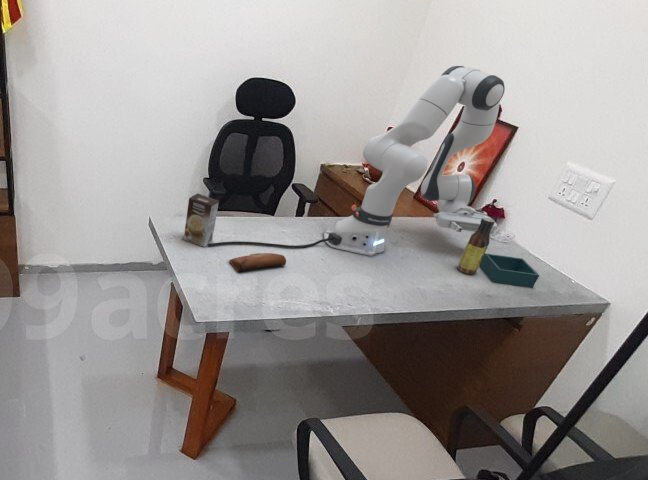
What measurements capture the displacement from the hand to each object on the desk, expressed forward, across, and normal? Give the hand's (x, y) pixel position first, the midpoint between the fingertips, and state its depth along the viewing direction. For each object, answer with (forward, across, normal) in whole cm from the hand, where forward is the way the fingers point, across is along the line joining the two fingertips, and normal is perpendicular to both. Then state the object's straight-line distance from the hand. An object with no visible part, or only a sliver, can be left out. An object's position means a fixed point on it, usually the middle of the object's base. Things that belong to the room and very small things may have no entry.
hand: (473, 231), depth 185 cm
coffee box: (+14, -97, +12) cm, 99 cm away
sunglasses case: (+26, -76, +12) cm, 81 cm away
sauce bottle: (+6, 0, +13) cm, 14 cm away
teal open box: (+6, +14, +13) cm, 20 cm away
